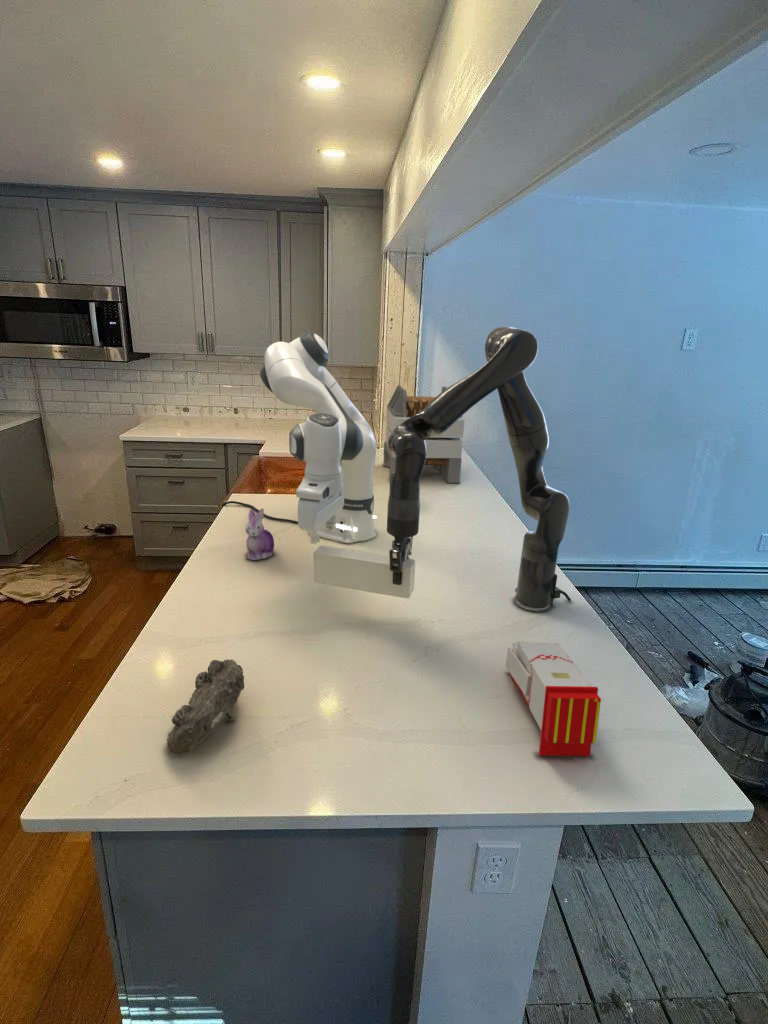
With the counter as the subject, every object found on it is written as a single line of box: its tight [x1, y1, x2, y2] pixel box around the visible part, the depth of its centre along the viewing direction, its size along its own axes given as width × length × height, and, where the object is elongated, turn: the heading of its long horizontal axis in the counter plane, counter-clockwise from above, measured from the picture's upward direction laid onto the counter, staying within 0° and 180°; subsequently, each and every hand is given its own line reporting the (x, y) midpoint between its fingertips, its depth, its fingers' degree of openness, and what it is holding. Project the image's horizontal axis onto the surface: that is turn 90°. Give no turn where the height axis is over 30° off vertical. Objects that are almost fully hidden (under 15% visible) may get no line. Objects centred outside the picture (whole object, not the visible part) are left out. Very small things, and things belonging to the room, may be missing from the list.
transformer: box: [383, 384, 465, 484], centre depth 268 cm, size 34×33×41 cm
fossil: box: [166, 658, 245, 754], centre depth 106 cm, size 22×10×15 cm
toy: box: [505, 641, 602, 757], centre depth 113 cm, size 12×13×30 cm
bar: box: [312, 545, 417, 600], centre depth 140 cm, size 25×5×8 cm, turn 74°
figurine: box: [245, 508, 275, 561], centre depth 176 cm, size 9×10×15 cm
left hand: (322, 536), depth 141 cm, fingers open, 8 cm apart
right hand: (400, 578), depth 138 cm, fingers closed on bar, 5 cm apart
